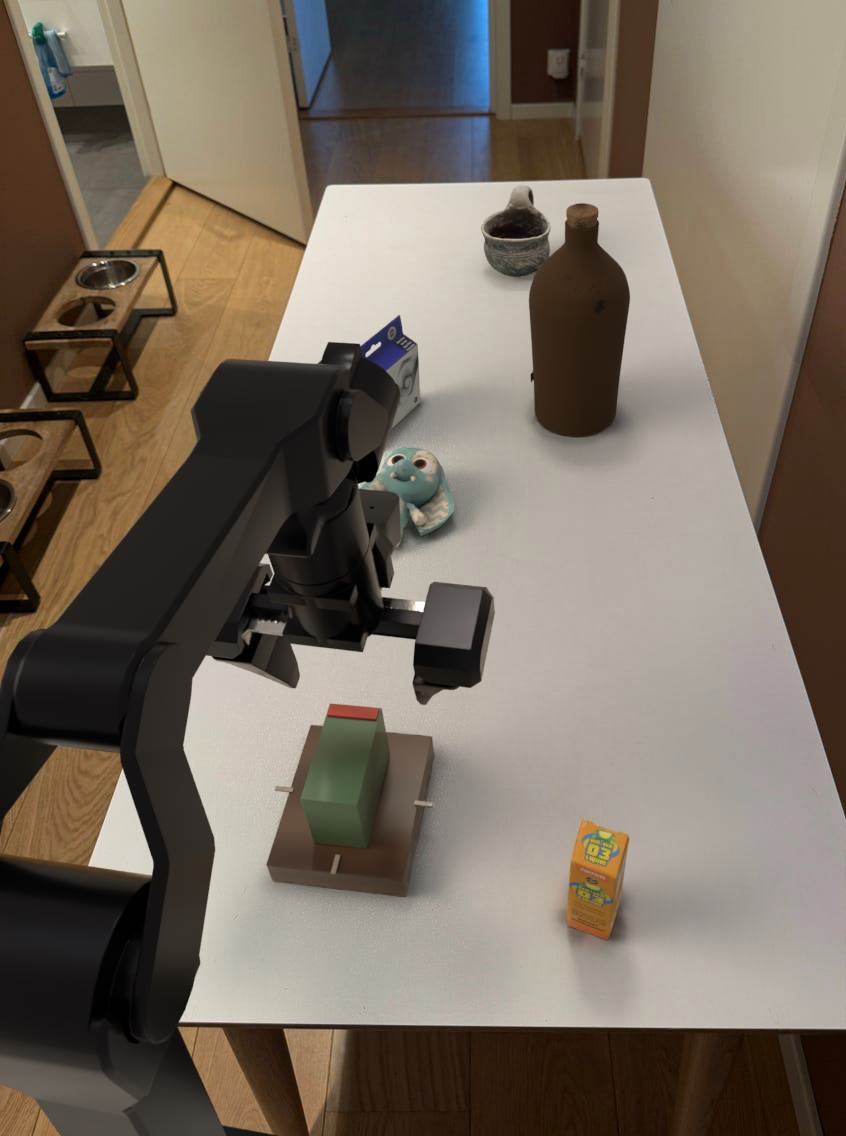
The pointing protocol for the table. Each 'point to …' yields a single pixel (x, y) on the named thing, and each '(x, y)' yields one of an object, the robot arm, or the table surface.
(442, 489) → the stuffed animal
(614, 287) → the olive oil
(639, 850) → the table surface
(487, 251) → the mug
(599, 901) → the supplement box
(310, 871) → the brown rectangular platform
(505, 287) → the table surface
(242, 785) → the table surface
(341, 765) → the green box
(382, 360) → the ink box
